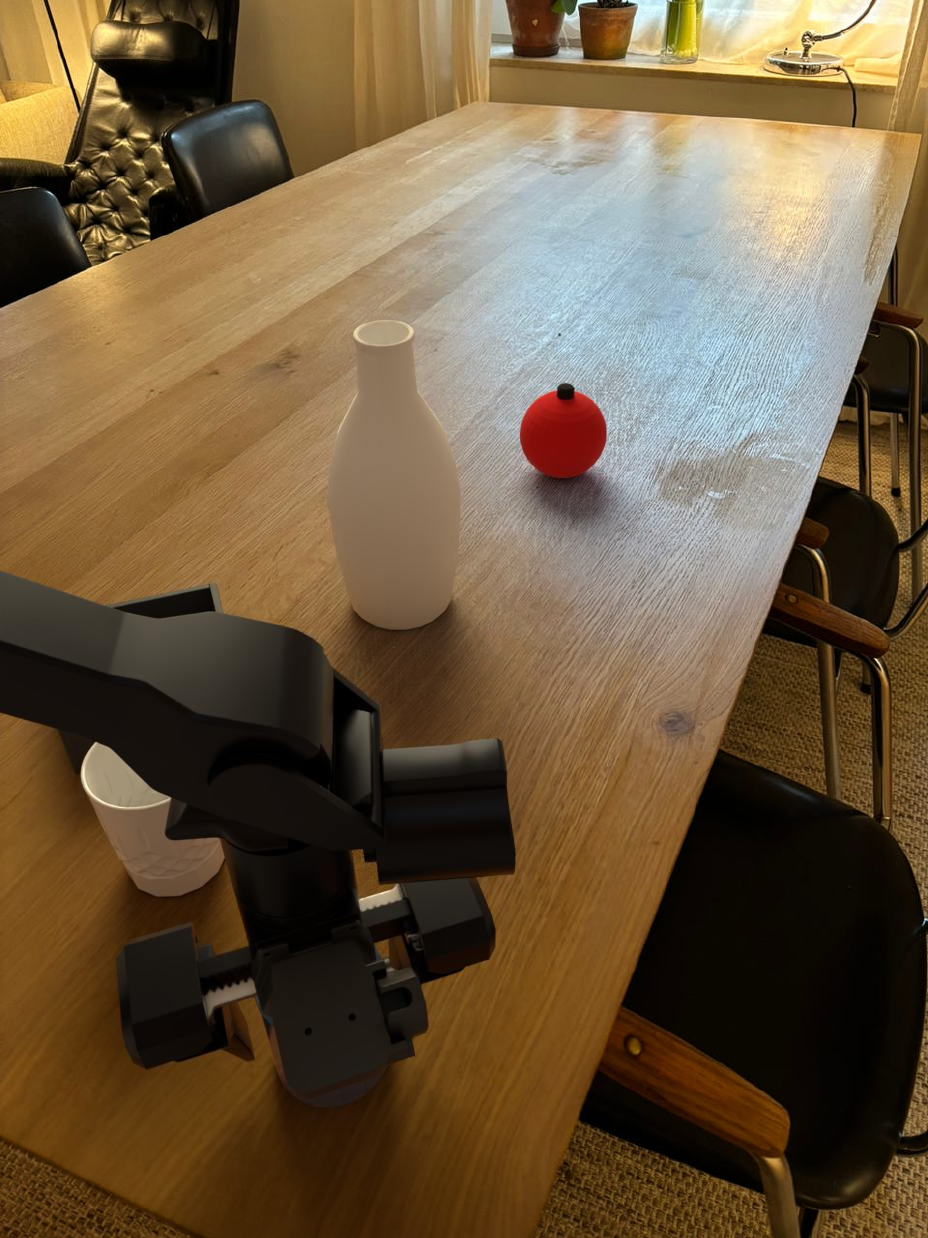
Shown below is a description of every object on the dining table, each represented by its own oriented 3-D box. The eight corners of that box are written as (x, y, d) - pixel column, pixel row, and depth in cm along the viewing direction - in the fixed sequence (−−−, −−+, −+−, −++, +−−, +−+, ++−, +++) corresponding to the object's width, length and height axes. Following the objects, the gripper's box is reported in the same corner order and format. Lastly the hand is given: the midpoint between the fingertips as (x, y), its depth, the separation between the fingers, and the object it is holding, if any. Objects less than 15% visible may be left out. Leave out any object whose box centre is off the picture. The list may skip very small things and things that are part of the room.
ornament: (618, 464, 106) (626, 378, 100) (578, 504, 101) (584, 416, 94) (544, 441, 110) (548, 357, 104) (502, 478, 104) (504, 392, 98)
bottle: (488, 600, 89) (490, 332, 73) (394, 659, 83) (372, 382, 67) (407, 547, 95) (392, 289, 79) (314, 598, 90) (276, 331, 73)
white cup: (171, 927, 64) (135, 831, 58) (95, 866, 68) (54, 769, 61) (259, 846, 69) (236, 749, 62) (184, 793, 73) (154, 697, 66)
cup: (254, 1087, 56) (231, 1017, 51) (304, 981, 61) (287, 907, 56) (366, 1124, 55) (354, 1055, 50) (407, 1011, 60) (400, 938, 54)
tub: (75, 774, 74) (56, 728, 71) (69, 661, 84) (52, 616, 80) (251, 730, 77) (241, 684, 74) (225, 626, 87) (215, 581, 84)
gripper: (96, 1096, 39) (176, 1238, 49) (541, 952, 43) (530, 1110, 53) (83, 868, 47) (154, 1031, 57) (459, 767, 51) (462, 935, 61)
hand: (326, 1028), depth 57 cm, fingers open, 8 cm apart
